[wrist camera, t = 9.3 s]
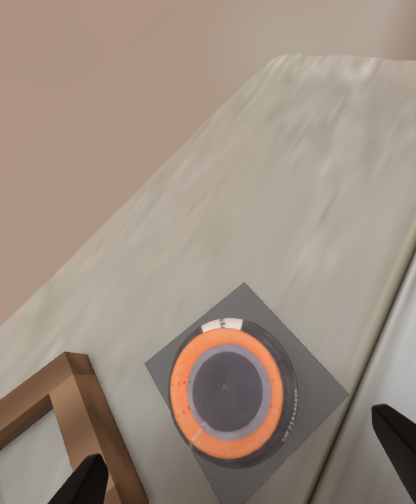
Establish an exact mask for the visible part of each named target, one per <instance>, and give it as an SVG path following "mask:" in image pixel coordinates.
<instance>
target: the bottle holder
mask: <svg viewBox="0 0 416 504" xmlns="http://www.w3.org/2000/svg"><path fill="white" fill-rule="evenodd" d="M53 408H54V411H55V414H56V418H57V421H58V424H59V427H60V431H61V434H62V437H63V440H64V444H65V447H66V450H67V453H68V456H69V460H70V463H71V466H72V469H73V472H74V471H75V470H76V468H77V467H78V466H79V465H80V463H81V462H82V461H83V460H84V459H85V458H86V457H87V456H88V455H90V454H96V453H100V454H101V455H102V457H103V459H104V461H105V463H106V465H107V467H108V470H109V478H108V484H107V489H106V494H105V499H104V504H147V503H148V502H149V500H148V498H147V496H146V493H145V491H144V489H143V486H142V484H141V482H140V479H139V477H138V474H137V472H136V470H135V467H134V465H133V463H132V460H131V458H130V456H129V453H128V451H127V448H126V446H125V444H124V441H123V439H122V437H121V434H120V432H119V430H118V427H117V425H116V422H115V420H114V418H113V415H112V413H111V411H110V408H109V406H108V404H107V401H106V399H105V396H104V394H103V392H102V389H101V387H100V385H99V382H98V380H97V378H96V375H95V373H94V370H93V368H92V366H91V363H90V361H89V359H88V356H87V355H86V354H79V353H71V352H63V353H62V354H61V355H59V356H58V357H57V358H55V359H54V360H53V361H51V362H50V363H49V364H47V365H46V366H45V367H43V368H42V369H41V370H39V371H38V372H37V373H35V374H34V375H33V376H31V377H30V378H29V379H27V380H26V381H25V382H23V383H22V384H21V385H19V386H18V387H17V388H15V389H14V390H13V391H11V392H10V393H9V394H7V395H6V396H5V397H3V398H2V399H1V400H0V450H1V449H2V448H3V447H4V446H6V445H7V444H8V443H10V442H11V441H12V440H13V439H15V438H16V437H17V436H18V435H20V434H21V433H22V432H23V431H25V430H26V429H27V428H28V427H30V426H31V425H32V424H34V423H35V422H36V421H37V420H39V419H40V418H41V417H42V416H44V415H45V414H46V413H47V412H49V411H50V410H51V409H53Z"/></svg>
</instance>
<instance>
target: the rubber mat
mask: <svg viewBox="0 0 416 504" xmlns="http://www.w3.org/2000/svg"><path fill="white" fill-rule="evenodd" d="M223 318H237V319H243V320H247V321H250V322H253V323H255V324H257V325H259V326H261V327H262V328H264V329H265V330H266V331H268V332H269V333H270V334H271V335H272V336H274V337H275V338H276V339H277V340H278V341H279V343H280V344H281V345H282V347H283V348H284V350H285V351H286V353H287V355H288V357H289V359H290V361H291V363H292V365H293V368H294V371H295V375H296V379H297V385H298V409H297V415H296V419H295V422H294V425H293V428H292V430H291V432H290V434H289V436H288V438H287V439H286V441H285V442H284V444H283V445H282V447H281V448H280V449H279V450H278V451H277V452H276V453H275V454H274V455H273V456H271V457H270V458H268V459H267V460H266V461H264V462H262V463H260V464H258V465H255V466H252V467H249V468H242V469H230V468H225V467H220V466H217V465H215V464H212V463H210V462H208V461H206V460H204V459H203V458H201V457H200V456H199V455H198V454H196V453H195V452H194V451H193V450H192V449H191V450H192V452H193V453H194V455H195V457H196V459H197V461H198V463H199V464H200V466H201V468H202V470H203V472H204V474H205V476H206V477H207V479H208V481H209V483H210V485H211V487H212V488H213V490H214V492H215V494H216V496H217V498H218V499H219V501H220V503H221V504H243V503H244V502H245V501H246V500H247V499H248V498H249V497H250V496H251V495H252V494H253V493H254V492H255V491H256V490H257V489H258V488H259V487H260V486H261V485H262V484H263V483H264V482H265V481H266V480H267V479H268V477H269V476H270V475H271V474H272V473H273V472H274V471H275V470H276V469H277V468H278V467H279V466H280V465H281V464H282V463H283V462H284V461H285V460H286V459H287V458H288V457H289V456H290V455H291V454H292V453H293V452H294V451H295V450H296V449H297V448H298V447H299V446H300V445H301V444H302V443H303V442H304V441H305V439H306V438H307V437H308V436H309V435H310V434H311V433H312V432H313V431H314V430H315V429H316V428H317V427H318V426H319V425H320V424H321V423H322V422H323V421H324V420H325V419H326V418H327V417H328V416H329V415H330V414H331V413H332V412H333V411H334V410H335V409H336V408H337V407H338V406H339V405H340V404H341V403H342V401H343V400H344V399H345V398H346V397H347V396H348V395H349V393H348V392H347V391H346V390H345V389H344V388H343V387H342V386H341V385H340V384H339V383H338V382H337V380H336V379H335V378H334V377H333V376H332V375H331V374H330V373H329V372H328V371H327V370H326V369H325V368H324V367H323V366H322V364H321V363H320V362H319V361H318V360H317V359H316V358H315V357H314V356H313V355H312V354H311V353H310V352H309V351H308V349H307V348H306V347H305V346H304V345H303V344H302V343H301V342H300V341H299V340H298V339H297V338H296V337H295V336H294V335H293V333H292V332H291V331H290V330H289V329H288V328H287V327H286V326H285V325H284V324H283V323H282V322H281V321H280V320H279V319H278V317H277V316H276V315H275V314H274V313H273V312H272V311H271V310H270V309H269V308H268V307H267V306H266V305H265V304H264V302H263V301H262V300H261V299H260V298H259V297H258V296H257V295H256V294H255V293H254V292H253V291H252V290H251V289H250V288H249V286H248V285H247V284H246V283H245V282H244V283H243V284H241V285H240V286H239V287H238V288H236V289H235V290H234V291H233V292H232V293H230V294H229V295H228V296H227V297H225V298H224V299H223V300H222V301H221V302H219V303H218V304H217V305H216V306H214V307H213V308H212V309H211V310H209V311H208V312H207V313H206V314H205V315H203V316H202V317H201V318H200V319H198V320H197V321H196V322H195V323H194V324H192V325H191V326H190V327H189V328H187V329H186V330H185V331H184V332H182V333H181V334H180V335H179V336H178V337H176V338H175V339H174V340H173V341H171V342H170V343H169V344H168V345H167V346H165V347H164V348H163V349H162V350H160V351H159V352H158V353H157V354H155V355H154V356H153V357H152V358H151V359H149V360H148V361H147V362H146V363H145V365H146V367H147V369H148V371H149V373H150V374H151V376H152V378H153V380H154V382H155V384H156V385H157V387H158V389H159V391H160V393H161V395H162V396H163V398H164V400H165V402H166V404H167V406H168V407H169V401H168V378H169V373H170V368H171V365H172V362H173V359H174V357H175V354H176V352H177V350H178V349H179V347H180V346H181V344H182V343H183V341H184V340H185V339H186V338H187V337H188V336H189V335H190V334H191V333H192V332H193V331H194V330H195V329H197V328H198V327H200V326H202V325H204V324H206V323H208V322H210V321H213V320H217V319H223ZM169 409H170V407H169Z"/></svg>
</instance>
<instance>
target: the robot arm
mask: <svg viewBox="0 0 416 504" xmlns="http://www.w3.org/2000/svg"><path fill="white" fill-rule="evenodd" d="M372 425H373V429H374V431H375V433H376V435H377V437H378V439H379V441H380V443H381V444H382V446H383V448H384V450H385V452H386V454H387V455H388V457H389V459H390V461H391V463H392V465H393V466H394V468H395V470H396V472H397V474H398V476H399V477H400V479H401V481H402V483H403V485H404V486H405V488H406V490H407V492H408V494H409V495H410V497H411V499H412V500H413V502H414V504H416V424H415V423H414V422H412V421H411V420H409V419H408V418H406V417H405V416H404V415H402V414H401V413H399V412H398V411H396V410H395V409H393V408H392V407H390V406H389V405H387V404H378V405H373V406H372ZM108 478H109V470H108V467H107V465H106V463H105V461H104V459H103V457H102V455H101V454H100V453H96V454H90V455H88V456H87V457H86V458H85V459H84V460H83V461H82V462H81V463H80V465H79V466H78V467H77V468H76V470H75V471H74V472H73V473H72V474H71V476H70V477H69V478H68V479H67V481H66V482H65V483H64V484H63V485H62V487H61V488H60V489H59V490H58V491H57V493H56V494H55V495H54V496H53V498H52V499H51V500H50V501H49V502H48V504H104V499H105V494H106V489H107V484H108Z"/></svg>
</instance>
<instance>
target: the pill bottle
mask: <svg viewBox="0 0 416 504" xmlns="http://www.w3.org/2000/svg"><path fill="white" fill-rule="evenodd" d="M168 401H169V407H170V411H171V415H172V418H173V421H174V424H175V426H176V428H177V430H178V432H179V433H180V435H181V437H182V438H183V440H184V441H185V442H186V444H187V445H188V446H189V447H190V448H191V449H192V450H193V451H194V452H195V453H196V454H198V455H199V456H200V457H201V458H203V459H204V460H206V461H208V462H210V463H212V464H215V465H217V466H220V467H225V468H230V469H242V468H249V467H252V466H255V465H258V464H260V463H262V462H264V461H266V460H267V459H268V458H270V457H271V456H273V455H274V454H275V453H276V452H277V451H278V450H279V449H280V448H281V447H282V445H283V444H284V442H285V441H286V439H287V438H288V436H289V434H290V432H291V430H292V428H293V425H294V422H295V419H296V415H297V409H298V385H297V379H296V375H295V371H294V368H293V365H292V363H291V361H290V359H289V357H288V355H287V353H286V351H285V350H284V348H283V347H282V345H281V344H280V343H279V341H278V340H277V339H276V338H275V337H274V336H272V335H271V334H270V333H269V332H268V331H266V330H265V329H264V328H262V327H261V326H259V325H257V324H255V323H253V322H250V321H247V320H243V319H237V318H223V319H217V320H213V321H210V322H208V323H206V324H204V325H202V326H200V327H198V328H197V329H195V330H194V331H193V332H192V333H191V334H190V335H189V336H188V337H187V338H186V339H185V340H184V341H183V343H182V344H181V346H180V347H179V349H178V350H177V352H176V354H175V357H174V359H173V362H172V365H171V368H170V373H169V378H168Z"/></svg>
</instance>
